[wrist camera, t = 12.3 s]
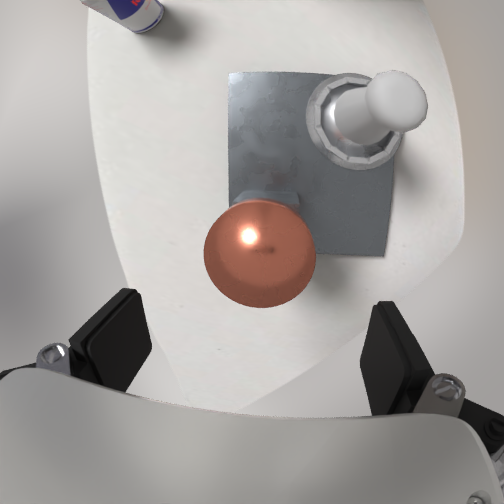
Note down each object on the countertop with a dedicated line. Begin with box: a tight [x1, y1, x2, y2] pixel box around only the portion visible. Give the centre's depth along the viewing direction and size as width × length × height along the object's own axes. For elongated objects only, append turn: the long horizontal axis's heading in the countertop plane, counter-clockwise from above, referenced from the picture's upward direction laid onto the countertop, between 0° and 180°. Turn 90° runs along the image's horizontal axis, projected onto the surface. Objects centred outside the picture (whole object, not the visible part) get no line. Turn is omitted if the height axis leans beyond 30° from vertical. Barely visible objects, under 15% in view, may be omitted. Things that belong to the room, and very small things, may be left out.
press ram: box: [204, 198, 316, 308], centre depth 23 cm, size 8×8×8 cm
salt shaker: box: [333, 70, 428, 145], centre depth 19 cm, size 6×6×13 cm
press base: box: [228, 72, 403, 256], centre depth 25 cm, size 20×19×8 cm
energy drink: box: [80, 0, 164, 33], centre depth 19 cm, size 5×5×12 cm
